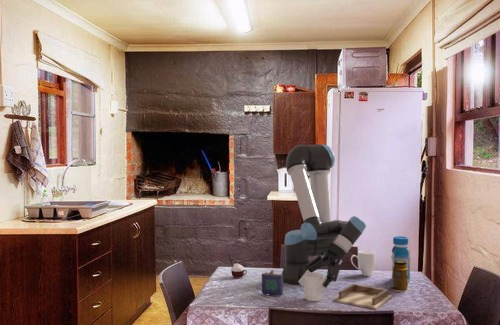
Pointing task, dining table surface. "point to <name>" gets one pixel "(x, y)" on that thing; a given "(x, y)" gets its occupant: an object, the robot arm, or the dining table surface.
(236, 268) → the cocoa
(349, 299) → the dock
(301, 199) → the robot arm
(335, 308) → the dining table surface
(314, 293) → the white cup
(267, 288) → the flask
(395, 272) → the condiment
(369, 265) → the mug
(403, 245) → the beverage bottle
